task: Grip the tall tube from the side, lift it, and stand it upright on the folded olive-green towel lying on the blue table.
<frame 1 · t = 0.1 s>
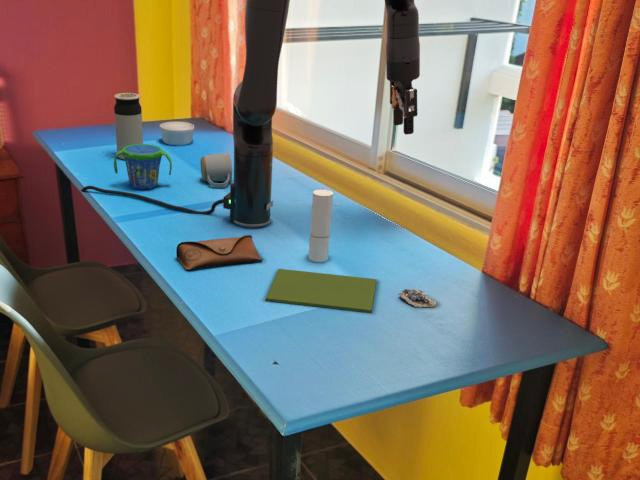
hand: (403, 129, 184), 22 cm above the table, tool pointing down, fingers open, 8 cm apart
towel: (322, 290, 158), on the table
sunglasses case: (220, 260, 170), on the table
snack cup: (144, 186, 212), on the table
ramekin: (177, 142, 252), on the table
travel mug: (130, 157, 236), on the table
rough mineral rock: (418, 301, 156), on the table
tube: (318, 259, 173), on the table
ceramic mug: (218, 183, 217), on the table
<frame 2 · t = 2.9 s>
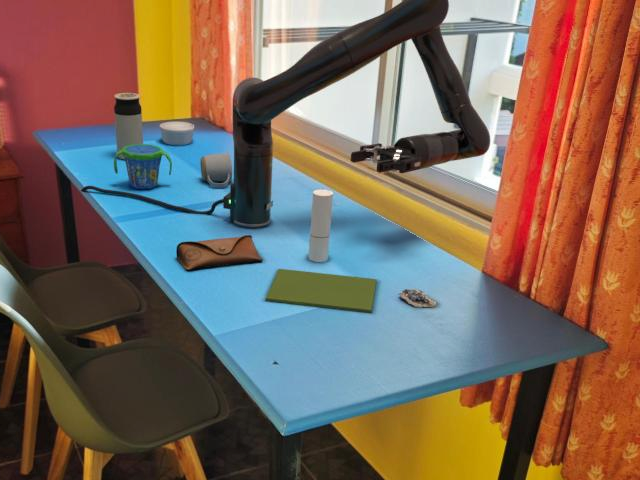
hand: (364, 162, 168), 20 cm above the table, tool horizontal, fingers open, 8 cm apart
nothing on the table moved.
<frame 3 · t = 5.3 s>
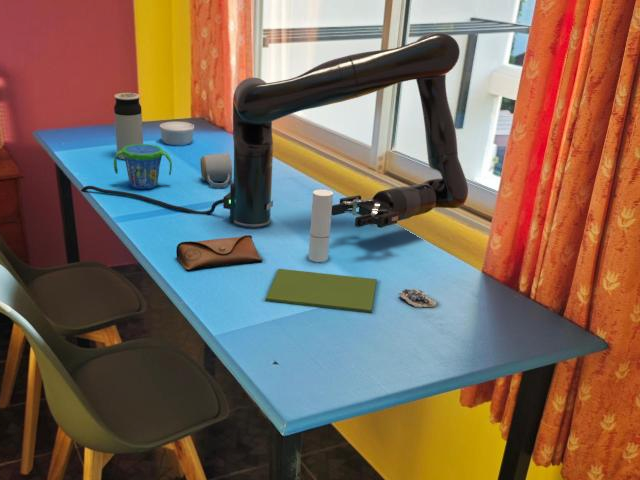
hand: (343, 216, 171), 9 cm above the table, tool horizontal, fingers open, 8 cm apart
nothing on the table moved.
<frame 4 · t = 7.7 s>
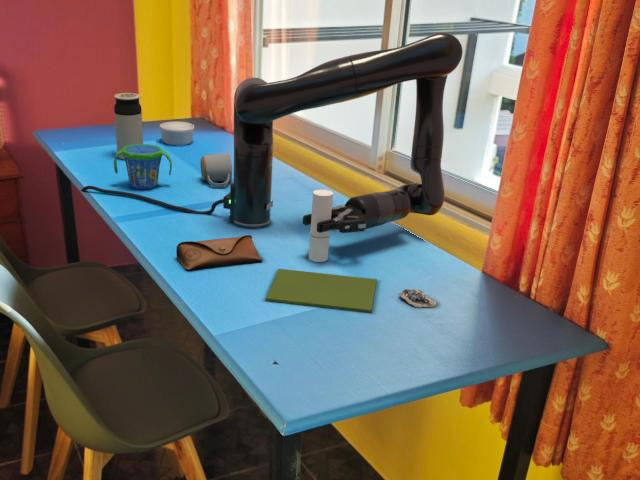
hand: (311, 224, 167), 8 cm above the table, tool horizontal, fingers closed on tube, 4 cm apart
tube: (318, 259, 173), on the table, touching gripper
everything else where it was.
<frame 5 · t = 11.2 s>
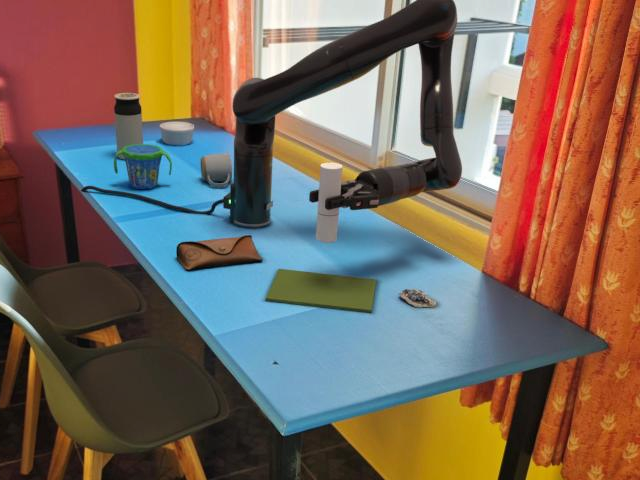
hand: (318, 200, 152), 18 cm above the table, tool horizontal, fingers closed on tube, 4 cm apart
tube: (326, 239, 158), point 9 cm above the table, touching gripper
everything else where it was.
when the fingers open (9 cm above the table, at t = 14.7 s): tube stays where it is, resting on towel.
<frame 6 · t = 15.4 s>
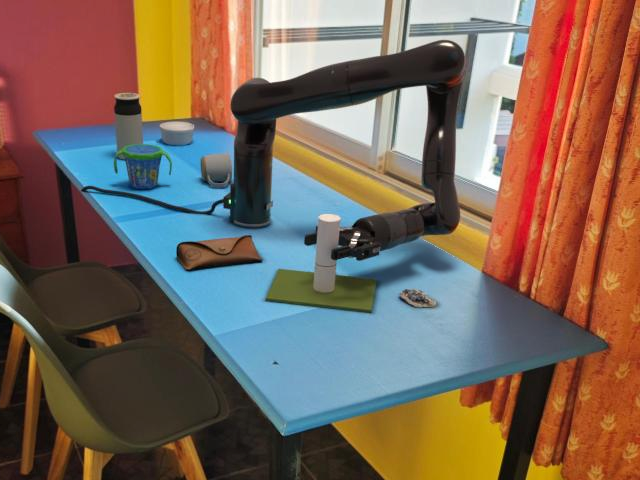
hand: (318, 247, 152), 10 cm above the table, tool horizontal, fingers open, 8 cm apart
tube: (323, 289, 158), resting on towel
everything else where it was.
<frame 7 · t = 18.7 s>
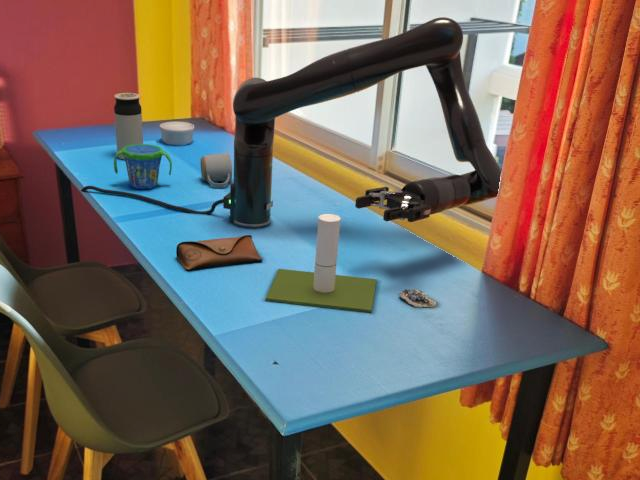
hand: (370, 209, 156), 15 cm above the table, tool horizontal, fingers open, 8 cm apart
nothing on the table moved.
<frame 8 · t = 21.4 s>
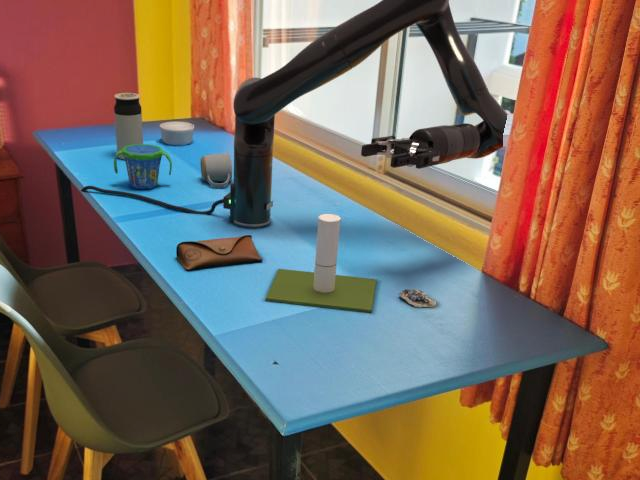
hand: (377, 156, 150), 26 cm above the table, tool horizontal, fingers open, 8 cm apart
nothing on the table moved.
at the end: tube inside the target area on the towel (0.2 cm from its centre), point 0.4 cm above the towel's base; tube tilted 0°; the gripper is holding nothing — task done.
